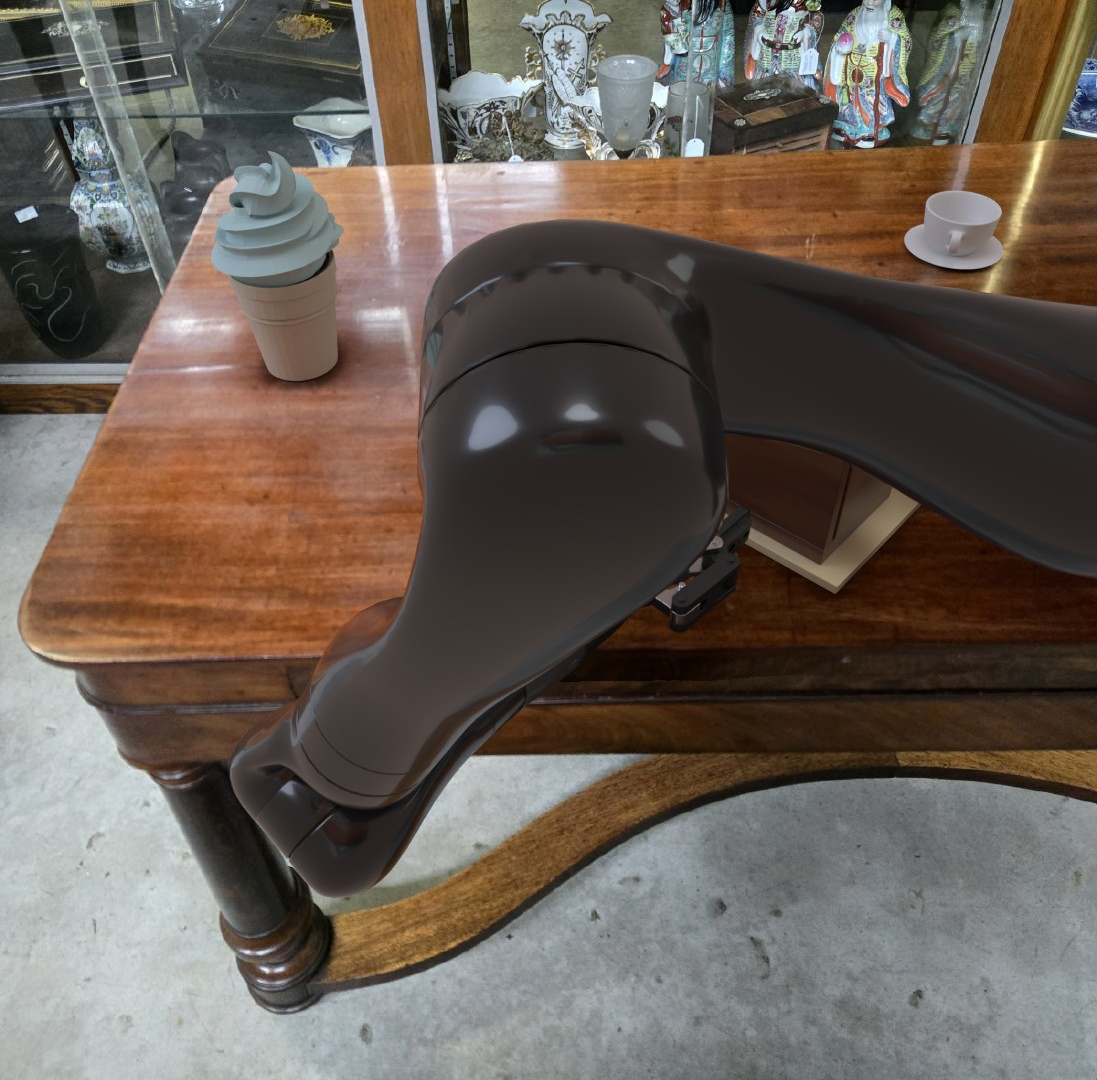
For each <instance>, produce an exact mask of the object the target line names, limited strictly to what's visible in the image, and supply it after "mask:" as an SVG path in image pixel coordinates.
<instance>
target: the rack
mask: <svg viewBox="0 0 1097 1080" xmlns="http://www.w3.org/2000/svg"><path fill="white" fill-rule="evenodd" d="M725 438H726V444H727V451H728V458H729V473H730V480H729V497H728V503H727V508H726V514H728V515H730V514H731V513H732V512H733V511H734V510H735V509H737V508H738V507H739V506H740V505H742V506H743V507H745V508H747V509H749V510H750V511H751V514H750V519H752V522H751V528H753V529H755V530H757V531H759V532H760V533H762V534H764V535H766V536H768V537H770V538H771V539H773V540H775V541H777V542H779V543H780V544H782V545H784V546H786V547H788V548H790V549H791V550H793V551H795V552H797V553H799V554H800V555H802V556H804V557H806V558H808V559H810V560H811V561H813V562H815V563H817V564H819V565H821V564H822V563H823V562H824V561H825V560H826V559H827V558H828V557H829V556H830V555H831V554H832V553H833V552H834V551H835V550H836V549H837V548H838V547H839V546H840V545H841V544H842V543H843V542H844V541H845V540H846V539H847V538H848V537H849V536H850V535H851V534H852V533H853V532H854V531H855V530H856V529H857V528H858V527H859V526H860V525H861V524H862V523H863V522H864V521H865V520H866V519H867V518H868V517H869V516H870V515H871V514H872V513H873V512H874V511H875V510H876V509H877V508H878V507H879V506H880V505H881V504H882V503H883V502H884V501H885V500H886V499H887V498H888V497H889V496H890V493H891V489H892V487H890V486H888V485H886V484H885V483H883V482H881V481H879V480H877V479H875V478H873V477H871V476H870V475H868V474H866V473H864V472H862V471H860V470H858V469H856V468H854V467H852V466H850V465H848V464H846V463H843V462H841V461H838V460H836V459H833V458H831V457H829V456H826V455H824V454H821V453H817V452H814V451H811V450H808V449H805V448H801V447H798V446H793V445H789V444H785V443H780V442H776V441H771V440H763V439H756V438H749V437H741V436H734V435H727V434H725Z"/></svg>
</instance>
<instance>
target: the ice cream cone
mask: <svg viewBox="0 0 1097 1080" xmlns="http://www.w3.org/2000/svg"><path fill="white" fill-rule="evenodd" d="M267 153H268V155H269V157H270V158H271V164H270V163H267V162H263V163H260V165H258V166H256V165H241V166H237V167H236V169H234V171H233V178H234V180H235V181H236V183H237V185H236V186H235V187H234V188H233V190H232V191H231V192H230V193H229V195H228V202H229V205H230V206H231V207H232V208H233V209H232V210H231V211H229V212H226V213H225V214H223V215H222V216H220V217H219V218H218V219H217V220H216V226H215V227H217V228H216V229H215V231H214V234H213V235H214V236H213V237H214V241H215V242H216V243H215V244H214V246H213V247H212V249H211V252H210V262H211V264H212V266H213V267H214V268H215V270H217V271H218V272H220V273H222V274H224V275H227V278H228V281H229V284H230V287H231V288H232V289H233V291H234V295H235V298H236V301H237V304H238V306H239V308H240V310H241V312H242V314H243V315H244V316H245V317H246V319H247V321H248V324H249V326H250V329H251V331H252V334H253V336H254V339H255V341H256V344H257V346H258V348H259V351H260V353H261V357H262V359H263V361H264V363H265V366H266V369H267V370H268V373H270V374H271V375H272V376H273V377H275V378H278V379H280V380H284V381H290V382H291V381H292V382H302V381H308V380H313V379H316V378H319V377H321V376H323V375H325V374H327V373H328V372H330V371H331V370H333V368H334V367H335V366H336V364H337V362H338V360H339V350H338V349H339V348H338V333H337V332H338V329H337V312H336V301H337V298H338V281H337V274H336V273H337V263H336V256H335V252H334V250H333V249H335V248H336V247H337V246H339V244H340V238H341V237H342V235H343V234H344V232H345V228H344V226H342V225H341V224H338V223H337V222H335V220H336V216H335V215H334V214H333V213H332V212H329V206H328V202H327V201H326V199H325V197H323V196H322V195H321V194H320V193H319V192H317V191H315V188H314V184H313V182H312V181H311V180H310V179H309V178H308V176H305V175H304V174H301V173H298V172H294V169H293V168H292V166H291V164H290V163H289V162H288V161H287V159H286V158H285V157H284V156H282V155H281V154H279V153H278V152H276V151H275V152H274V151H271V150H267Z"/></svg>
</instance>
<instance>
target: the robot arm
mask: <svg viewBox="0 0 1097 1080" xmlns="http://www.w3.org/2000/svg"><path fill="white" fill-rule="evenodd" d="M420 351H421V352H420V370H419V371H420V372H419V393H418V394H419V396H418V417H417V418H418V419H417V441H416V446H417V447H416V448H417V449H416V454H417V455H416V473H417V474H416V475H417V482H418V487H419V490H420V494H421V498H422V499H421V500H422V511H421V520H420V527H419V533H418V539H417V544H416V548H415V554H414V557H413V562H412V566H411V569H410V573H409V577H408V580H407V583H406V586H405V588H404V590H405V591H403V592H404V593H403V595H402V596H396V597H392V598H389V599H384V600H382V601H378V602H376V603H374V604H372V605H370V606H368V607H366V608H365V609H362V610H361V611H359V612H358V613H357V614H355V615H354V616H353V617H352V618H351V619H350V620H349V621H347V622H346V623H345V624H343V626H342V627H341V628H340V629H339V631H338V632H337V633H336V634H335V635H334V637H333V638H332V640H331V641H330V642H329V644H328V645H327V646H326V648H325V650H324V652H323V653H322V655H321V657H320V658H319V661H318V662H317V664H316V666H315V668H314V670H313V672H312V674H311V676H310V678H309V680H308V682H307V683H306V685H305V688H304V689H303V691H302V693H301V695H300V696H299V697H298V698H296V699H294V700H292V701H290V702H288V703H286V704H284V705H282V706H280V707H279V708H277V709H275V710H273V711H272V712H270V713H268V714H267V715H266V716H264V717H263V718H262V719H261V720H259V721H258V722H256V723H255V724H254V725H253V726H252V727H251V728H250V729H249V730H248V731H247V732H246V733H245V734H244V735H243V736H242V737H241V739H239V741H238V742H237V744H236V745H235V748H234V749H233V751H232V753H231V756H230V760H229V765H228V767H229V768H228V775H229V783H230V786H231V788H232V791H233V794H234V795H235V797H236V799H237V801H238V802H239V804H240V805H241V806H242V808H243V809H244V811H246V812H247V813H248V815H249V816H250V817H251V819H252V820H253V821H254V822H255V823H256V825H258V827H259V828H260V829H261V830H262V831H263V832H264V834H265V835H266V837H268V839H269V840H270V841H271V842H272V843H273V845H274V846H275V848H277V850H278V851H279V852H280V853H281V854H282V856H283V857H284V858H285V859H286V860H288V863H289V864H290V865H291V866H292V867H293V869H294V870H295V872H296V873H297V874H298V875H299V876H300V877H301V878H302V879H303V881H304V882H305V884H306V885H308V887H309V888H310V889H312V890H313V891H314V892H315V893H317V894H318V895H320V896H322V897H326V898H330V899H331V898H332V899H344V898H348V897H352V896H357V895H360V894H363V893H364V892H367V891H369V890H370V889H372V888H373V887H375V886H376V885H378V884H379V883H380V882H381V881H383V880H384V878H386V877H387V876H388V874H390V873H391V871H392V870H393V869H394V868H395V866H396V865H397V864H398V862H399V861H400V860H401V859H402V857H403V855H404V854H405V853H406V851H407V849H408V848H409V846H410V844H411V843H412V841H413V839H414V838H415V836H416V834H417V833H418V831H419V829H420V828H421V826H422V825H423V823H424V821H425V819H426V818H427V816H428V814H429V813H430V812H431V810H432V808H433V806H434V804H435V803H436V801H437V800H438V798H439V797H440V796H441V794H442V793H443V791H444V790H445V789H446V787H447V785H448V784H449V783H450V781H451V780H452V779H453V778H454V776H455V775H456V774H457V773H458V771H459V770H460V769H461V767H463V765H464V764H465V763H466V762H467V761H468V760H469V759H470V758H471V756H472V755H474V754H475V753H476V751H477V750H479V748H480V747H482V746H483V745H484V744H485V743H486V742H487V741H488V740H489V739H490V738H491V737H492V736H493V735H494V734H496V733H497V732H498V731H499V730H501V728H503V727H504V726H505V725H506V724H507V723H508V722H509V721H510V720H512V719H513V718H514V717H515V716H517V714H518V713H519V712H521V711H522V710H523V709H524V708H525V707H526V706H528V705H529V704H531V703H532V702H533V701H535V700H537V699H538V698H540V697H541V696H543V695H545V694H546V693H548V692H549V691H550V690H552V688H554V687H555V686H556V685H557V684H559V683H560V682H561V681H562V680H563V679H564V678H565V677H566V676H568V675H569V674H572V673H573V672H574V671H575V670H576V669H577V667H578V666H579V665H580V664H581V663H582V662H583V661H584V660H586V659H587V658H588V657H589V656H590V655H591V654H592V653H593V652H594V651H596V650H597V649H598V648H600V646H601V645H602V644H604V642H606V641H607V640H608V639H609V638H610V637H611V636H612V635H613V634H615V633H616V632H617V631H619V630H620V628H621V627H623V625H624V624H625V623H626V622H627V620H628V619H629V618H630V617H631V616H633V615H634V614H635V613H637V612H639V610H641V609H643V608H647V607H651V606H652V607H653V608H655V609H657V610H658V611H659V612H661V613H662V614H663V615H665V616H666V617H667V618H668V619H669V620H668V621H669V622H668V627H669V629H670V630H671V631H672V632H674V633H677V634H682V633H685V632H686V631H687V630H689V629H691V627H692V626H694V625H696V623H698V622H699V621H700V620H701V619H702V618H704V617H705V616H706V615H707V614H708V613H710V612H711V611H712V610H714V608H716V607H717V606H718V605H719V604H720V603H722V602H723V601H724V600H725V599H726V598H728V597H729V596H730V595H731V594H732V593H734V591H736V590H737V585H738V579H739V573H740V567H741V562H742V561H741V558H740V557H739V556H738V555H737V554H735V553H736V551H737V550H739V548H741V547H742V546H743V545H744V544H745V542H746V541H747V540H748V537H749V534H750V528H751V522H752V519H750V514H751V511H750V510H749V509H747V508H745V507H743V506H742V505H740V506H739V507H738V508H737V509H735V510H734V511H733V512H732V513H731V514H730V515H729V516H727V517H726V518H725V519H724V517H725V513H726V508H727V503H728V497H729V480H730V473H729V458H728V451H727V444H726V438H725V434H727V435H734V436H741V437H749V438H756V439H763V440H771V441H776V442H780V443H785V444H789V445H793V446H798V447H801V448H805V449H808V450H811V451H814V452H817V453H821V454H824V455H826V456H829V457H831V458H833V459H836V460H838V461H841V462H843V463H846V464H848V465H850V466H852V467H854V468H856V469H858V470H860V471H862V472H864V473H866V474H868V475H870V476H871V477H873V478H875V479H877V480H879V481H881V482H883V483H885V484H886V485H888V486H890V487H892V488H893V489H895V490H897V491H899V492H901V493H902V494H904V495H906V496H907V497H909V498H911V499H912V500H914V501H916V502H917V503H919V504H921V506H922V507H924V508H925V509H927V510H929V511H931V512H933V514H936V515H937V516H939V517H941V518H943V519H945V520H946V521H947V522H950V523H952V524H953V525H955V526H957V527H958V528H960V529H962V530H964V531H965V532H968V533H970V534H972V535H973V536H975V537H977V538H979V539H981V540H982V541H984V542H986V543H988V544H990V545H993V546H995V547H997V548H998V549H1001V550H1003V551H1005V552H1007V553H1010V554H1012V555H1014V556H1016V557H1019V558H1021V559H1023V560H1026V561H1028V562H1030V563H1033V564H1035V565H1037V566H1040V567H1043V568H1045V569H1048V570H1052V571H1054V572H1057V573H1062V574H1066V575H1070V576H1071V575H1072V576H1077V577H1082V578H1083V577H1084V578H1089V579H1095V580H1097V306H1093V305H1083V304H1077V303H1076V304H1075V303H1068V302H1060V301H1052V300H1043V299H1037V298H1029V297H1022V296H1015V295H1009V294H1003V293H994V292H986V291H985V292H984V291H978V290H972V289H965V288H958V287H950V286H949V287H948V286H942V285H932V284H924V283H916V282H910V281H904V280H896V279H889V278H883V277H877V276H873V275H868V274H862V273H855V272H850V271H847V270H841V269H837V268H832V267H827V266H822V265H817V264H812V263H807V262H804V261H798V260H794V259H790V258H785V257H781V256H776V255H772V254H768V253H763V252H760V251H756V250H755V251H754V250H750V249H747V248H741V247H737V246H734V245H730V244H724V243H720V242H715V241H712V240H707V239H703V238H698V237H693V236H691V235H686V234H681V233H677V232H674V231H672V232H671V231H667V230H661V229H658V228H657V229H656V228H651V227H646V226H641V225H636V224H630V223H623V222H617V221H616V222H615V221H608V220H599V219H583V218H582V219H580V218H579V219H577V218H576V219H575V218H573V219H572V218H557V219H550V220H541V221H532V222H525V223H519V224H517V225H514V226H511V227H507V228H504V229H501V230H498V231H494V232H491V233H488V234H487V235H484V236H483V237H481V238H479V239H478V240H476V241H474V242H471V244H469V245H467V246H466V247H464V248H462V249H461V250H460V251H459V252H458V253H456V255H454V257H452V258H451V259H450V260H449V261H448V262H447V263H446V264H445V265H444V266H443V268H442V269H441V271H440V272H439V273H438V275H437V277H436V278H435V280H434V282H433V283H432V286H431V288H430V289H429V294H428V296H427V300H426V305H425V309H424V315H423V323H422V335H421V349H420ZM690 578H693V579H691V580H690V581H689V582H687V583H686V581H687V580H688V579H690ZM675 585H676V586H675ZM671 586H674V587H672V588H670V587H671Z"/></svg>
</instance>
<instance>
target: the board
mask: <svg viewBox="0 0 1097 1080" xmlns="http://www.w3.org/2000/svg"><path fill="white" fill-rule="evenodd" d="M921 506H922V505H921V504H919V503H917V502H916V501H914V500H912V499H911V498H909V497H907V496H906V495H904V494H902V493H901V492H899V491H897V490H895V489H893V488H892V489H891V493H890V496H889V497H888V498H887V499H886V500H885V501H884V502H883V503H882V504H881V505H880V506H879V507H878V508H877V509H876V510H875V511H874V512H873V513H872V514H871V515H870V516H869V517H868V518H867V519H866V520H865V521H864V522H863V523H862V524H861V525H860V526H859V527H858V528H857V529H856V530H855V531H854V532H853V533H852V534H851V535H850V536H849V537H848V538H847V539H846V540H845V541H844V542H843V543H842V544H841V545H840V546H839V547H838V548H837V549H836V550H835V551H834V552H833V553H832V554H831V555H830V556H829V557H828V558H827V559H826V560H825V561H824V562H823V563H822V564H821V565H819V564H817V563H815V562H813V561H811V560H810V559H808V558H806V557H804V556H802V555H800V554H799V553H797V552H795V551H793V550H791V549H790V548H788V547H786V546H784V545H782V544H780V543H779V542H777V541H775V540H773V539H771V538H770V537H768V536H766V535H764V534H762V533H760V532H759V531H757V530H755V529H753V528H750V534H749V537H748V540H747V541H746V542H745V543H744V544H745V545H746V546H748V547H750V548H752V549H754V550H756V551H757V552H759V553H761V554H763V555H765V556H766V557H768V558H770V559H772V560H774V562H777V563H779V564H780V565H782V566H784V567H785V568H788V569H789V570H791V571H793V572H795V573H797V574H798V575H800V576H802V577H804V578H805V579H807V580H809V581H810V582H812V583H814V584H816V585H818V586H820V587H821V588H823V589H825V590H827V591H829V593H830V592H831V593H832V594H834V595H837V593H838V592H839V591H840V590H841V589H843V587H844V586H846V584H847V583H848V582H849V581H850V580H851V579H852V578H853V577H854V575H855V574H857V573H858V571H860V569H862V567H863V566H864V565H865V564H866V563H867V562H868V561H869V560H870V559H871V558H872V557H873V556H874V555H875V554H876V553H877V552H878V551H879V549H881V547H883V545H885V544H886V542H887V541H888V540H889V539H890V538H891V537H892V536H893V535H894V534H895V533H896V532H897V531H898V530H899V529H900V528H901V527H902V526H903V524H905V522H907V521H908V519H910V517H911V516H913V514H914V513H916V511H917V510H918V509H919V508H920V507H921ZM727 516H729V515H728V514H726V513H725V517H724V519H725V518H726V517H727Z"/></svg>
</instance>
